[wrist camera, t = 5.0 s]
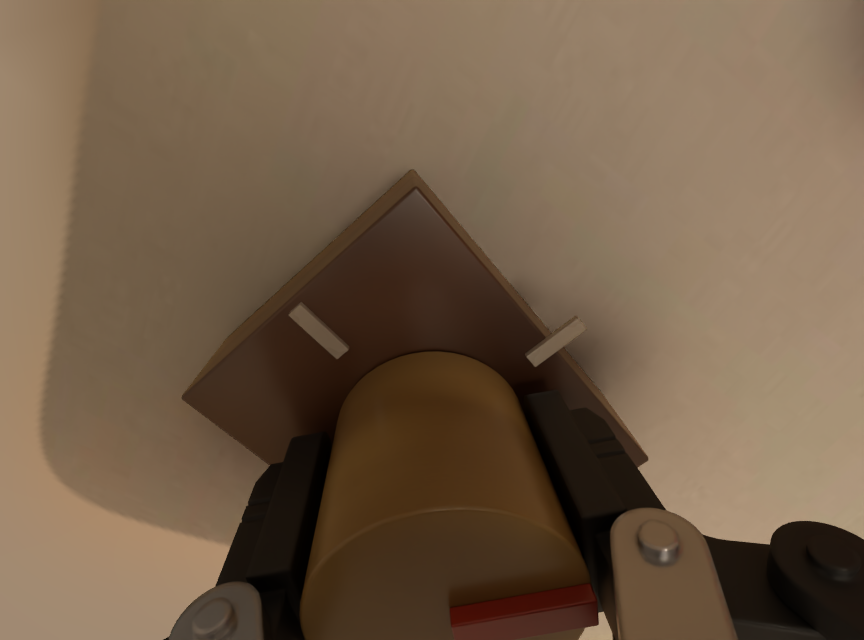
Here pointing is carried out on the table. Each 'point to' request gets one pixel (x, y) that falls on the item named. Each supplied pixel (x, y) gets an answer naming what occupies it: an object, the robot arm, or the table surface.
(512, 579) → the dial
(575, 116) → the table surface
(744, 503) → the table surface
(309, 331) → the panel
